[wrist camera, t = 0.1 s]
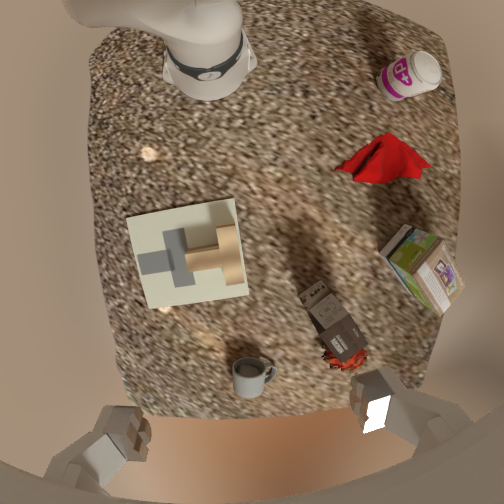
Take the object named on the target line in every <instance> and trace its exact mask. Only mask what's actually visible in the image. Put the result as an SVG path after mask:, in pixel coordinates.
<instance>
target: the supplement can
mask: <svg viewBox="0 0 504 504" xmlns="http://www.w3.org/2000/svg"><path fill="white" fill-rule="evenodd" d="M376 80H377V85H378V87H379V89H380V91H381V92H382V94H383V95H384V96H385V97H387V98H388V99H390V100H393V101H400V100H403V99H406V98H409V97H412V96H415V95H418V94H421V93H424V92H427V91H430V90H433V89H435V88H437V87H438V85H439V83H440V82H441V80H442V71H441V68H440V66H439V64H438V62H437V61H436V60H435V58H434V57H432V56H431V55H430V54H428V53H426V52H421V51H413V52H411V53H409V54H407V55H405V56H403V57H402V58H400V59H398V60H396V61H395V62H393V63H391V64H390V65H388V66H386V67H385V68H383V69H381V70H380V71H379V72H378V74H377V78H376Z"/></svg>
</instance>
